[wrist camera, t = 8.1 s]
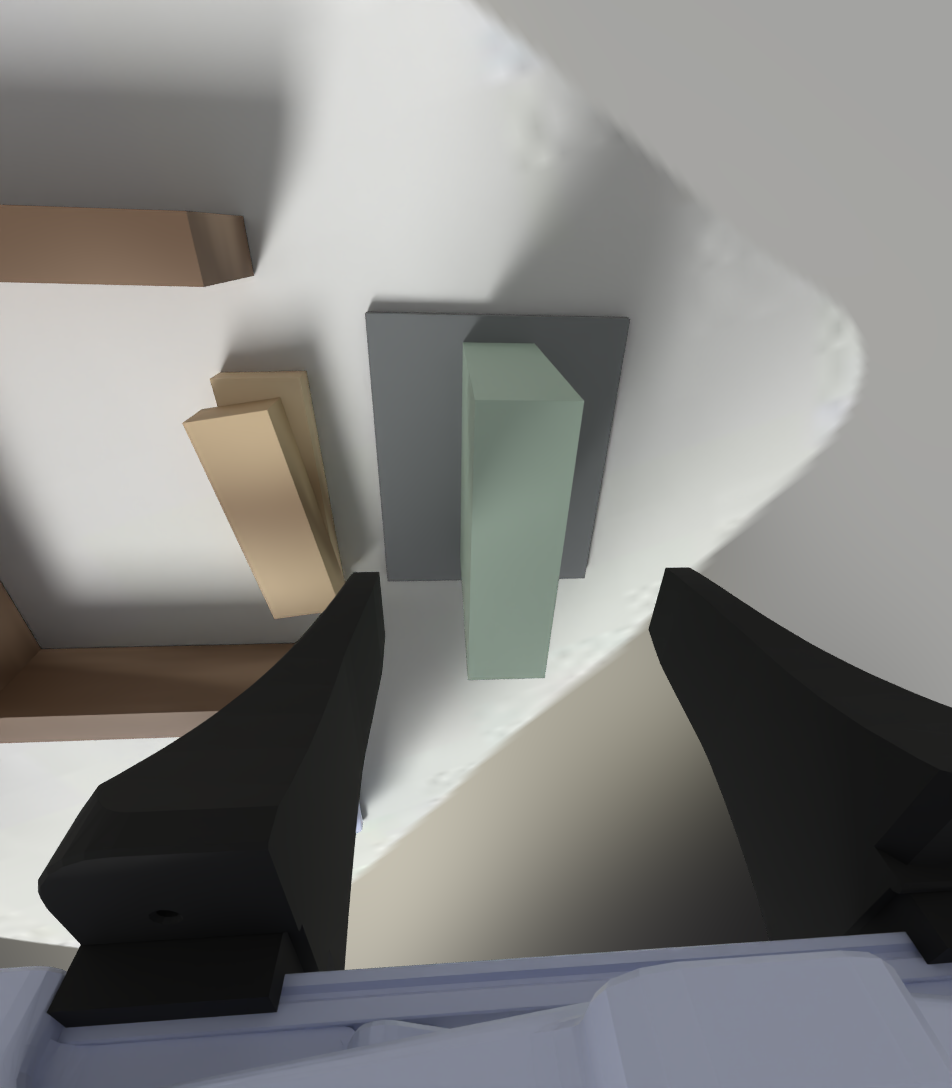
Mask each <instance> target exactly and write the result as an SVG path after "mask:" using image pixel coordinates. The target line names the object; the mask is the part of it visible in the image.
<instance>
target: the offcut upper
mask: <svg viewBox="0 0 952 1088" xmlns="http://www.w3.org/2000/svg"><path fill="white" fill-rule="evenodd" d="M183 426H184V428H185V430H186V432H187V434H188V436H189V438H190V440H191V443H192V445H193V447H194V449H195V451H196V453H197V455H198V457H199V460H200V462H201V464H202V466H203V468H204V470H205V472H206V475H207V477H208V479H209V481H210V483H211V485H212V487H213V489H214V492H215V494H216V496H217V498H218V500H219V502H220V504H221V506H222V509H223V511H224V513H225V515H226V517H227V519H228V521H229V523H230V526H231V528H232V530H233V532H234V534H235V536H236V538H237V541H238V543H239V545H240V547H241V549H242V551H243V553H244V555H245V558H246V560H247V562H248V564H249V566H250V568H251V570H252V572H253V575H254V577H255V579H256V581H257V583H258V585H259V587H260V589H261V592H262V594H263V596H264V598H265V600H266V602H267V604H268V607H269V609H270V611H271V613H272V615H273V617H274V619H279V618H286V617H293V616H300V615H308V614H315V613H322V612H323V611H324V610H325V609H326V608H327V606H328V605H329V604H330V602H331V601H332V600H333V599H334V597H335V596H336V595H337V593H338V592H339V591H340V589H341V588H342V586H343V585H344V584H345V581H344V578H343V575H342V572H341V569H340V566H339V563H338V561H337V558H336V555H335V552H334V549H333V546H332V543H331V541H330V538H329V535H328V532H327V529H326V526H325V523H324V521H323V518H322V515H321V512H320V509H319V506H318V504H317V501H316V498H315V495H314V492H313V489H312V486H311V484H310V481H309V478H308V475H307V472H306V469H305V466H304V464H303V461H302V458H301V455H300V452H299V449H298V446H297V444H296V441H295V438H294V435H293V432H292V429H291V426H290V424H289V421H288V418H287V415H286V412H285V409H284V406H283V404H282V401H281V398H280V397H278V398H271V399H265V400H259V401H252V402H246V403H239V404H233V405H226V406H220V407H214V408H207V409H202V410H200V411H199V412H197V413H196V414H195V415H193V416H192V417H190V418H189V419H188V420H186V421H185V422H183Z"/></svg>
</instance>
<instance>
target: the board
mask: <svg viewBox="0 0 952 1088" xmlns="http://www.w3.org/2000/svg"><path fill="white" fill-rule="evenodd" d="M583 406H584V400H583V399H582V398H581V397H580V396H579V394H578V393H577V392H576V391H575V390H574V389H573V387H572V386H571V385H570V384H569V383H568V382H567V380H566V379H565V378H564V377H563V376H562V375H561V374H560V372H559V371H558V370H557V369H556V368H555V367H554V365H553V364H552V363H551V362H550V361H549V360H548V358H547V357H546V356H545V355H544V354H543V353H542V352H541V350H540V349H539V348H538V347H537V346H536V345H535V343H476V342H463V371H462V457H461V542H460V562H461V578H462V594H463V610H464V626H465V642H466V658H467V674H468V680H490V679H525V678H545V672H546V665H547V658H548V651H549V644H550V637H551V630H552V623H553V616H554V609H555V602H556V595H557V588H558V581H559V574H560V567H561V560H562V553H563V546H564V539H565V532H566V525H567V518H568V511H569V504H570V497H571V490H572V483H573V476H574V469H575V462H576V455H577V448H578V441H579V434H580V427H581V420H582V413H583Z"/></svg>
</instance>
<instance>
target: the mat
mask: <svg viewBox="0 0 952 1088" xmlns="http://www.w3.org/2000/svg"><path fill="white" fill-rule="evenodd" d="M365 318H366V330H367V342H368V354H369V365H370V377H371V389H372V401H373V413H374V424H375V436H376V448H377V460H378V472H379V483H380V495H381V507H382V519H383V531H384V543H385V554H386V566H387V578H388V581H435V580H462V578H461V562H460V542H461V457H462V371H463V342H476V343H535V345H536V346H537V347H538V348H539V349H540V350H541V352H542V353H543V354H544V355H545V356H546V357H547V358H548V360H549V361H550V362H551V363H552V364H553V365H554V367H555V368H556V369H557V370H558V371H559V372H560V374H561V375H562V376H563V377H564V378H565V379H566V380H567V382H568V383H569V384H570V385H571V386H572V387H573V389H574V390H575V391H576V392H577V393H578V394H579V396H580V397H581V398H582V399H583V400H584V406H583V413H582V420H581V427H580V434H579V441H578V448H577V455H576V462H575V469H574V476H573V483H572V490H571V497H570V504H569V511H568V518H567V525H566V532H565V539H564V546H563V553H562V560H561V567H560V574H559V579H568V578H585V572H586V566H587V561H588V555H589V549H590V544H591V538H592V533H593V527H594V521H595V516H596V510H597V504H598V499H599V493H600V487H601V482H602V476H603V470H604V465H605V459H606V453H607V448H608V442H609V437H610V431H611V425H612V420H613V414H614V408H615V403H616V397H617V391H618V386H619V380H620V374H621V369H622V363H623V357H624V352H625V346H626V341H627V335H628V329H629V324H630V319H629V318H627V317H589V316H541V315H493V314H445V313H397V312H366V313H365Z"/></svg>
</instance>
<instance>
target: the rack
mask: <svg viewBox="0 0 952 1088" xmlns="http://www.w3.org/2000/svg"><path fill="white" fill-rule="evenodd" d="M250 276H254V273H253V267H252V262H251V257H250V251H249V246H248V241H247V235H246V230H245V225H244V219H243V216H236V215H225V214H214V213H203V212H192V211H171V210H141V209H111V208H82V207H52V206H22V205H0V282H20V283H62V284H105V285H147V286H189V287H205V286H210V285H214V284H219V283H223V282H228V281H232V280H237V279H241V278H246V277H250ZM294 644H295V643H286V644H243V645H200V646H156V647H113V648H70V649H41V648H40V646H39V645H38V643H37V642H36V640H35V638H34V637H33V635H32V633H31V632H30V630H29V628H28V627H27V625H26V623H25V622H24V620H23V618H22V617H21V615H20V613H19V612H18V610H17V608H16V607H15V605H14V603H13V602H12V600H11V598H10V597H9V595H8V593H7V592H6V590H5V588H4V587H3V585H2V583H1V582H0V743H23V742H51V741H80V740H109V739H137V738H166V737H182V736H183V735H185V734H186V733H188V732H189V731H191V730H193V729H194V728H195V727H197V726H198V725H200V724H201V723H203V722H204V721H206V720H207V719H208V718H210V717H211V716H213V715H214V714H215V713H217V712H218V711H219V710H221V709H222V708H223V707H225V706H226V705H227V704H229V703H230V702H231V701H232V700H234V699H235V698H236V697H238V696H239V695H240V694H241V693H243V692H244V691H245V690H246V689H248V688H249V687H250V686H251V685H253V684H254V683H255V682H256V681H257V680H258V679H259V678H260V677H262V676H263V675H264V674H265V673H266V672H267V671H268V670H269V669H270V668H271V667H273V666H274V665H275V664H276V663H277V662H278V661H279V660H280V659H281V658H282V657H283V656H284V655H285V654H286V653H287V652H288V651H289V650H290V649H291V648H292V646H293V645H294Z"/></svg>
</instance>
